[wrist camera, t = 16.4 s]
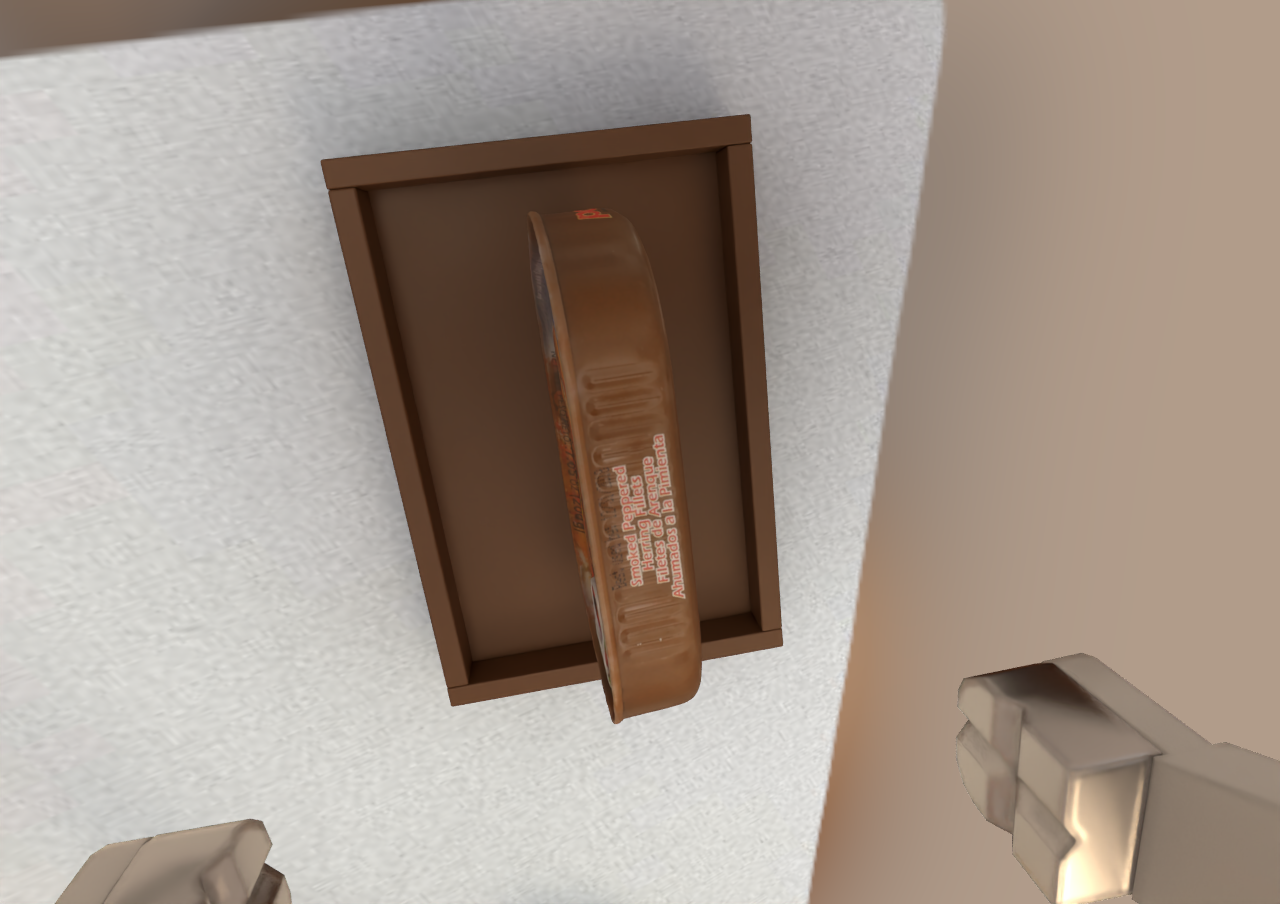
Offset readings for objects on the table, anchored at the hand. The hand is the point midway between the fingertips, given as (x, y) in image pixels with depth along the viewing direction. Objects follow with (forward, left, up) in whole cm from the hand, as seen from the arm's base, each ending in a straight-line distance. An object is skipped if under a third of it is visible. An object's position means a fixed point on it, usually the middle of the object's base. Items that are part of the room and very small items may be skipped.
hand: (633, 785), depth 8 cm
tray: (0, 0, -17) cm, 17 cm away
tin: (0, +1, -17) cm, 17 cm away
